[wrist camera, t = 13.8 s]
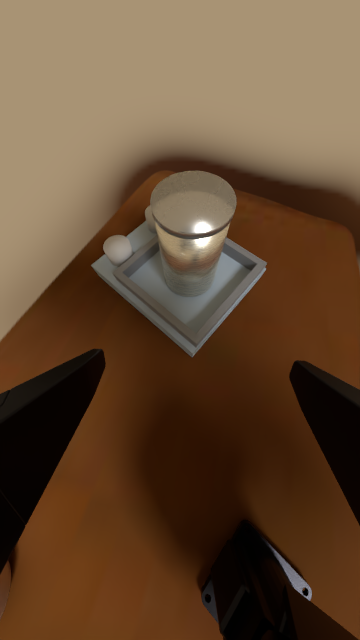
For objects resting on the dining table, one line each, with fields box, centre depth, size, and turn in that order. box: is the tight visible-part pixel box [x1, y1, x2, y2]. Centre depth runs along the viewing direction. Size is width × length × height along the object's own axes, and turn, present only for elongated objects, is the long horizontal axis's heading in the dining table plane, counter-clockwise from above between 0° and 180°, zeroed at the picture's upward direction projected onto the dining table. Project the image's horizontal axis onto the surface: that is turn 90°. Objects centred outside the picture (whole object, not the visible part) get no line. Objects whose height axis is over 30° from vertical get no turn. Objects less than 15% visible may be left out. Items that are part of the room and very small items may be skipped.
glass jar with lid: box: [150, 171, 236, 297], centre depth 18 cm, size 8×6×10 cm
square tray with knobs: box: [91, 205, 267, 357], centre depth 23 cm, size 17×14×4 cm
